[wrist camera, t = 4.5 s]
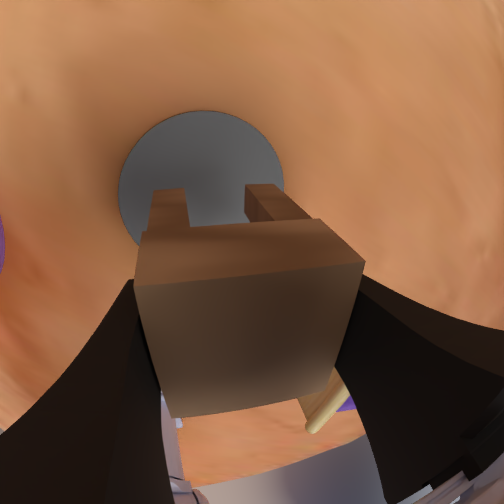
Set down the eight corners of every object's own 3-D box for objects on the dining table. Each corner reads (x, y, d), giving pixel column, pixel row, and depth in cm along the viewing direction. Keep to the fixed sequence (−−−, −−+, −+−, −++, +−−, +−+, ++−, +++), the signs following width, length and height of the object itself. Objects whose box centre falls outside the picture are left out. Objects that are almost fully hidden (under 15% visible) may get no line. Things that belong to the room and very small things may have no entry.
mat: (131, 271, 19) (130, 276, 18) (113, 118, 14) (111, 118, 14) (274, 257, 21) (277, 262, 21) (285, 112, 16) (289, 112, 16)
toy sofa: (283, 384, 30) (317, 464, 21) (322, 326, 27) (376, 413, 18) (400, 376, 38) (434, 425, 29) (434, 333, 35) (476, 382, 26)
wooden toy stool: (163, 294, 13) (171, 418, 8) (150, 188, 11) (133, 286, 5) (268, 282, 14) (324, 390, 9) (276, 181, 12) (365, 261, 6)
